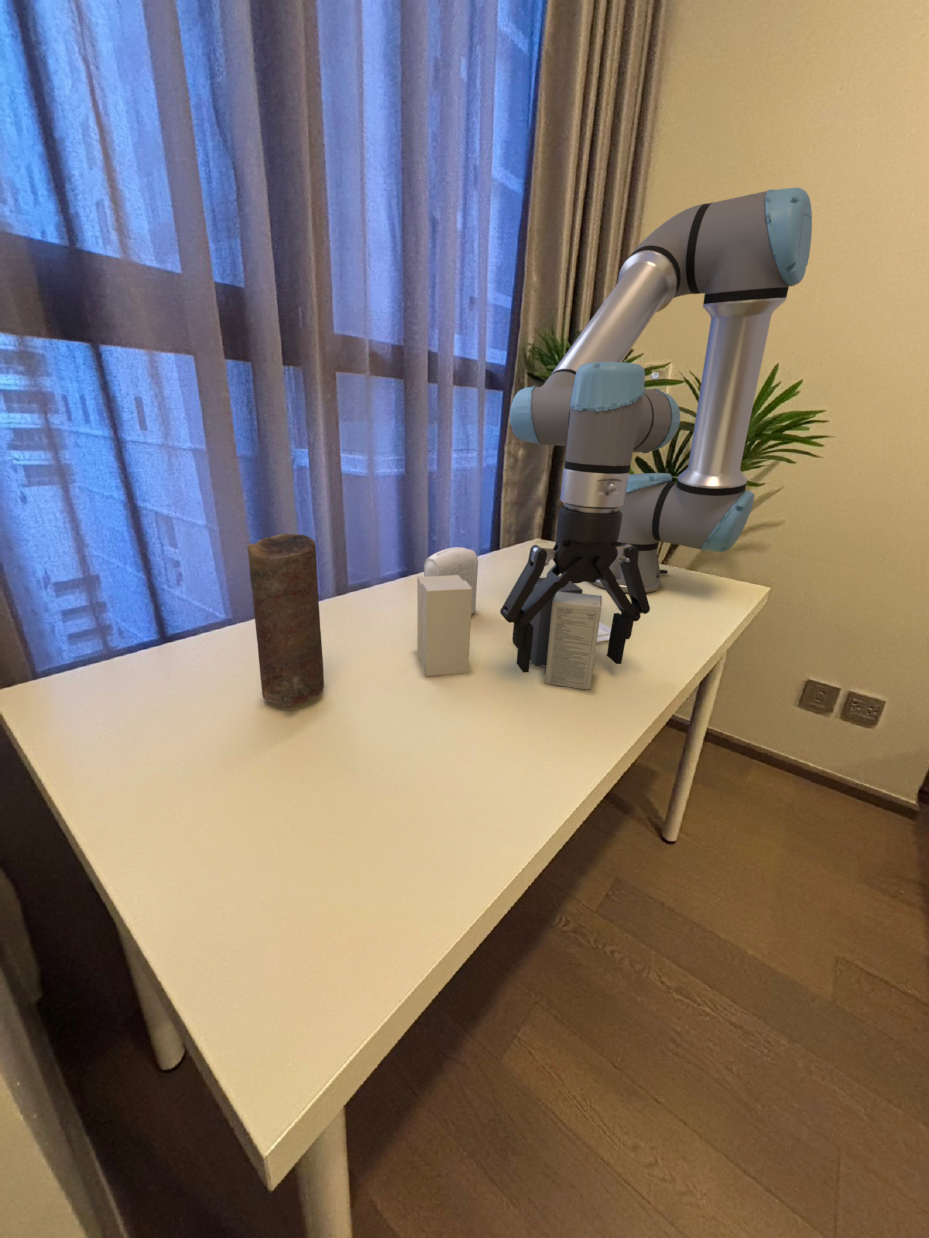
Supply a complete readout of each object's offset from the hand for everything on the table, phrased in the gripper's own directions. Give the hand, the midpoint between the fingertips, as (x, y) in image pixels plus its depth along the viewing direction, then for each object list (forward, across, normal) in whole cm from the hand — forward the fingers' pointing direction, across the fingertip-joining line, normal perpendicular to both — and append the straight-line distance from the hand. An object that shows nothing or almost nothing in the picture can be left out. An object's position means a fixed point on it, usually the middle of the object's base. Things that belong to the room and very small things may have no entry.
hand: (569, 664), depth 69 cm
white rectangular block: (+3, -16, +8) cm, 18 cm away
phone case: (+3, +9, +18) cm, 20 cm away
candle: (+3, -36, +3) cm, 36 cm away
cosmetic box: (+3, 0, 0) cm, 3 cm away
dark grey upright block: (+2, 0, +8) cm, 9 cm away
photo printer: (+3, -11, +25) cm, 27 cm away
